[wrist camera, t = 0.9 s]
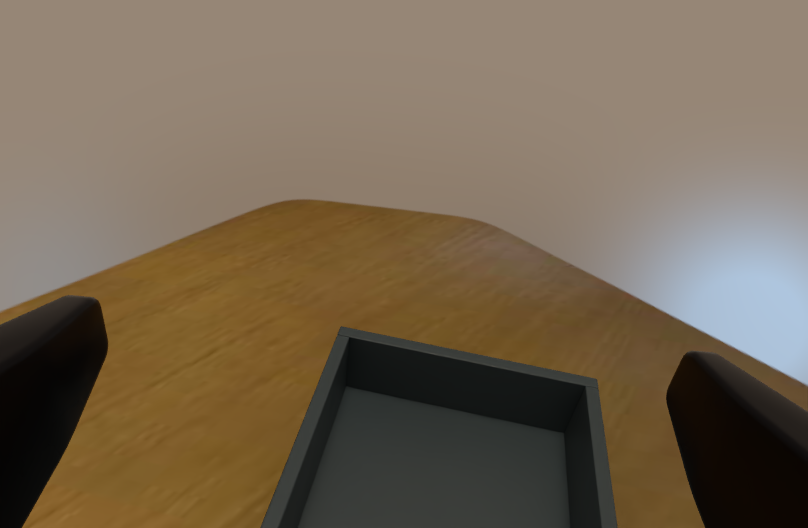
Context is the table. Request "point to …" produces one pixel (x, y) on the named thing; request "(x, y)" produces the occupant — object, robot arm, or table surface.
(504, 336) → the table surface
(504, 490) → the bin
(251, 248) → the table surface
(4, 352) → the robot arm
